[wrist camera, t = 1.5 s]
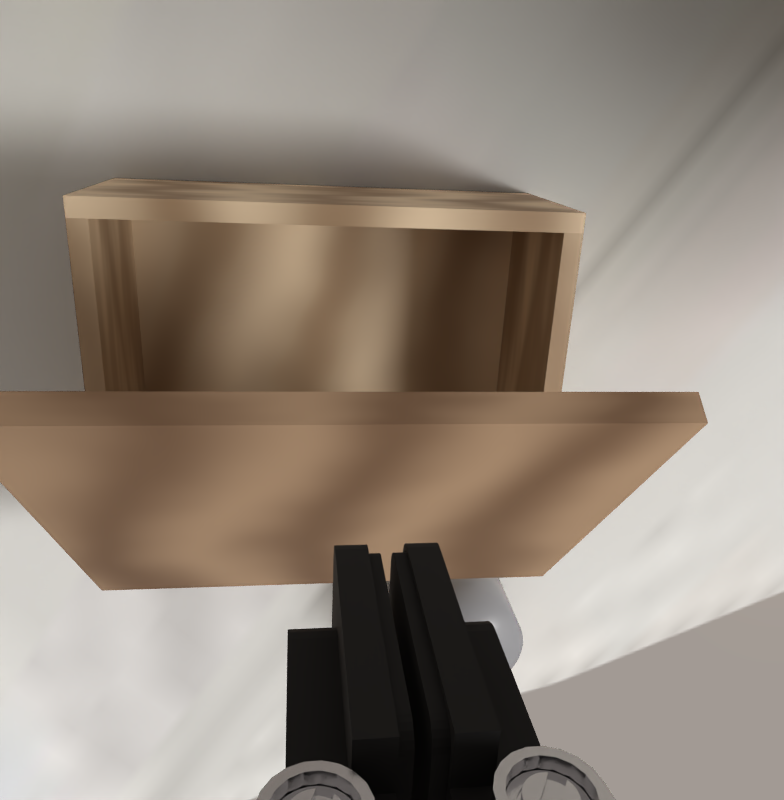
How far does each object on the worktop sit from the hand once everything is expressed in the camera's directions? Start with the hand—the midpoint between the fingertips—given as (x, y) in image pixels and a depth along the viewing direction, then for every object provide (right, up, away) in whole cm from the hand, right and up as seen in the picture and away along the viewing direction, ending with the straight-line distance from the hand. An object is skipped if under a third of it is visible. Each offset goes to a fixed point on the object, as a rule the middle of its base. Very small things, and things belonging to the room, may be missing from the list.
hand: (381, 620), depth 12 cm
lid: (-2, 0, +15) cm, 15 cm away
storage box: (-3, +7, +26) cm, 27 cm away
